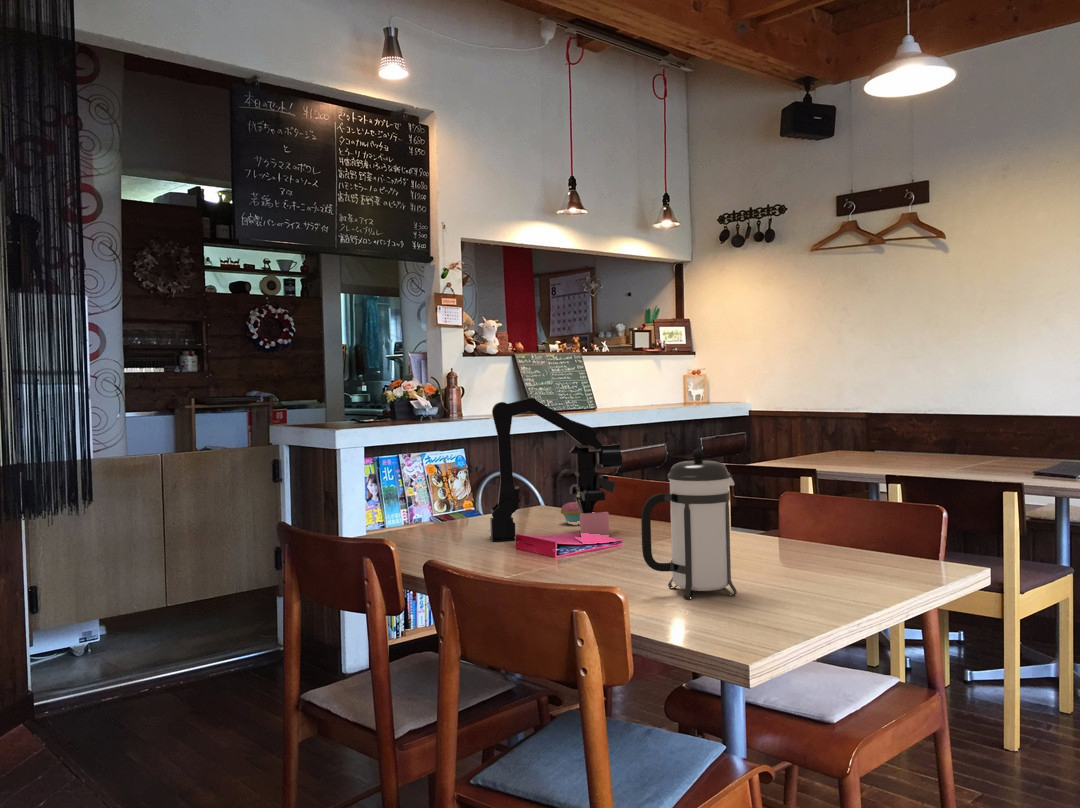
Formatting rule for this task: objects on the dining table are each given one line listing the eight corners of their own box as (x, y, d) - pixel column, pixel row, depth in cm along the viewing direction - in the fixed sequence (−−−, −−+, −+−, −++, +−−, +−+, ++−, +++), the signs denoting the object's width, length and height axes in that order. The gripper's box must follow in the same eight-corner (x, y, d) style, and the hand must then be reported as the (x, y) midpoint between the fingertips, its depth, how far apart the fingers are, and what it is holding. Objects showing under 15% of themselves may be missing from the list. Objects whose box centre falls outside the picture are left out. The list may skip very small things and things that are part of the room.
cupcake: (592, 523, 269) (591, 485, 268) (579, 527, 261) (578, 488, 261) (569, 521, 273) (568, 484, 273) (556, 525, 266) (554, 487, 266)
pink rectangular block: (582, 538, 239) (581, 514, 239) (580, 538, 241) (579, 513, 241) (609, 537, 241) (608, 512, 241) (607, 536, 242) (606, 511, 242)
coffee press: (683, 579, 188) (680, 445, 187) (750, 589, 177) (747, 446, 177) (641, 596, 174) (637, 451, 174) (711, 607, 164) (707, 453, 163)
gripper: (622, 470, 239) (623, 525, 239) (604, 464, 257) (605, 515, 257) (584, 472, 236) (585, 527, 237) (568, 466, 255) (570, 517, 255)
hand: (587, 521), depth 247 cm, fingers closed
